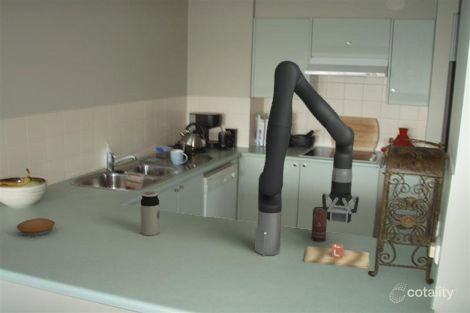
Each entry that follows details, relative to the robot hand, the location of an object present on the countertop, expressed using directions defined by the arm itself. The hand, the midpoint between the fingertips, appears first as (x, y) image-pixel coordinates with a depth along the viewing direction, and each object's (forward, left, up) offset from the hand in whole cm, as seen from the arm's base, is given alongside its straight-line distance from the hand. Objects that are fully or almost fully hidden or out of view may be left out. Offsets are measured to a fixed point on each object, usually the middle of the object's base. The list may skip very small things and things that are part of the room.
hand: (338, 221), depth 185 cm
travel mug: (-51, +63, -15) cm, 82 cm away
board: (0, 0, -15) cm, 15 cm away
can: (+8, +19, -15) cm, 26 cm away
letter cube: (0, 0, -14) cm, 14 cm away
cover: (0, 0, -1) cm, 1 cm away
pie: (-93, +88, -15) cm, 129 cm away
